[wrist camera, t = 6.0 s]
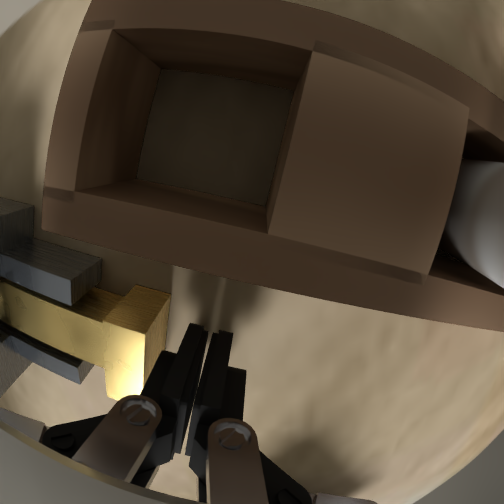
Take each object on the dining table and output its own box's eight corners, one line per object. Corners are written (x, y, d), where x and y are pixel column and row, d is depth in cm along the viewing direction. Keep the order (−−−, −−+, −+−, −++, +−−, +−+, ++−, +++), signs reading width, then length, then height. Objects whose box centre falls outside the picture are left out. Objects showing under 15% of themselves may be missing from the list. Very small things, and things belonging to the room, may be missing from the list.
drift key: (163, 363, 12) (143, 408, 10) (21, 309, 12) (-13, 336, 9) (171, 294, 11) (145, 334, 9) (15, 245, 11) (-26, 265, 8)
